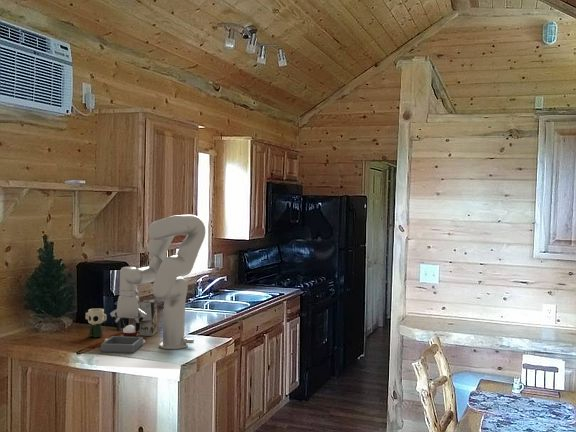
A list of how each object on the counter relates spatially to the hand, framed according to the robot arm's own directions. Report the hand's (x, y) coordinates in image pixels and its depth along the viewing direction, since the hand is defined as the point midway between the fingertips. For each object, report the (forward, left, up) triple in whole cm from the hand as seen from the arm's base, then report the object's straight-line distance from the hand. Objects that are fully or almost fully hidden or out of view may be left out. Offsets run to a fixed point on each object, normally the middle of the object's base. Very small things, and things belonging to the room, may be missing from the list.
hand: (128, 330), depth 288 cm
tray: (-3, +17, -4) cm, 18 cm away
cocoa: (-1, 0, -4) cm, 4 cm away
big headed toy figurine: (+16, -2, -4) cm, 17 cm away
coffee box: (-6, -13, -4) cm, 15 cm away
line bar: (-1, +7, -4) cm, 9 cm away
